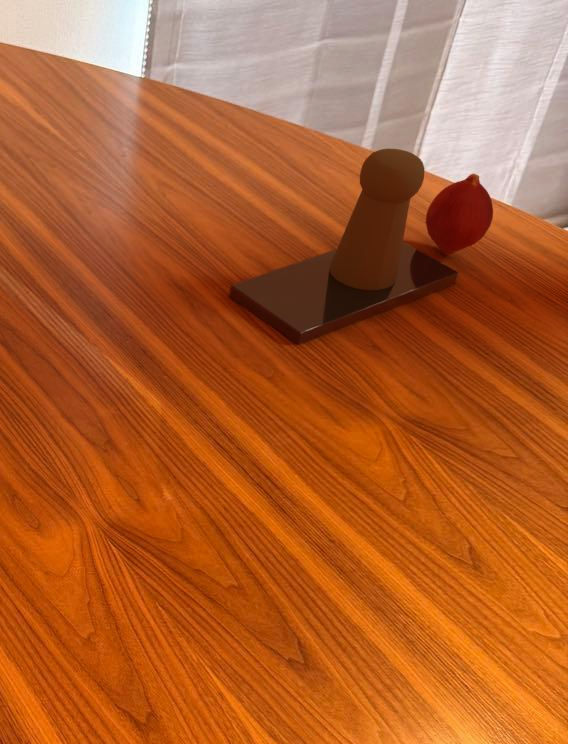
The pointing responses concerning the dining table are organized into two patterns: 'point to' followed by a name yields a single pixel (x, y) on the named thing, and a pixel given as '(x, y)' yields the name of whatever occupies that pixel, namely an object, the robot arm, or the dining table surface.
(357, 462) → the dining table surface
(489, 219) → the onion
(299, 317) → the slate strip
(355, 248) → the pepper mill
